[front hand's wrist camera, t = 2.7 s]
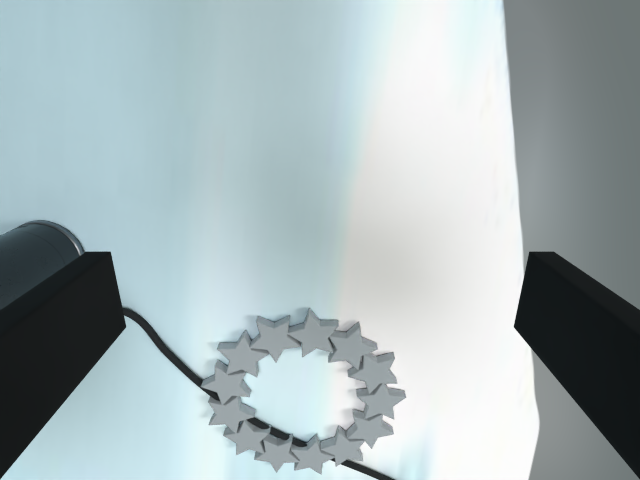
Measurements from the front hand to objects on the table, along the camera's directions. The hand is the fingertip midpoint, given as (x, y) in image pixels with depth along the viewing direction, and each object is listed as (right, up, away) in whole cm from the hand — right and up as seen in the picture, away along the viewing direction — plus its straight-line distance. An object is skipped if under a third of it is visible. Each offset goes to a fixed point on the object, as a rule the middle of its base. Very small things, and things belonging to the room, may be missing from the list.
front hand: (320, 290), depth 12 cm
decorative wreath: (-2, -22, +46) cm, 51 cm away
